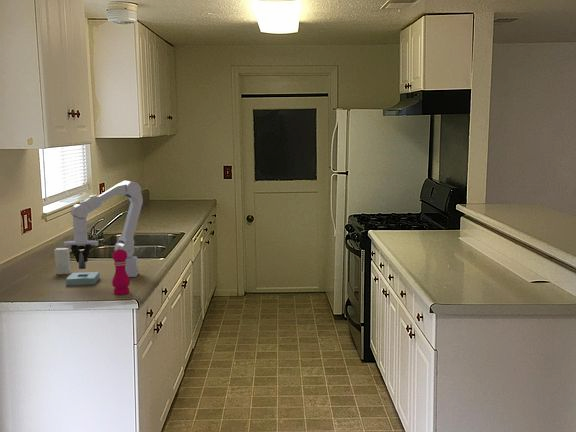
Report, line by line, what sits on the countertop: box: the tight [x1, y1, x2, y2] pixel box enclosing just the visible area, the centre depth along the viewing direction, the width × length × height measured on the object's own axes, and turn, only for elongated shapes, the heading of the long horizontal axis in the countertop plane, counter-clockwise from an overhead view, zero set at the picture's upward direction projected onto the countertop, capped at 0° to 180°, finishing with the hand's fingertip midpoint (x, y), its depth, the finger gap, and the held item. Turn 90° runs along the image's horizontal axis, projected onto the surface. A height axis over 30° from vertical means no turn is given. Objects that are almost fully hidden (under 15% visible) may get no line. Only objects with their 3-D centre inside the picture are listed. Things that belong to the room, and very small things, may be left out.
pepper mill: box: [111, 246, 131, 296], centre depth 261 cm, size 7×7×20 cm
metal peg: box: [77, 249, 87, 270], centre depth 279 cm, size 3×3×8 cm
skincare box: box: [53, 247, 72, 275], centre depth 296 cm, size 6×4×12 cm
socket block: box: [65, 271, 100, 287], centre depth 281 cm, size 12×12×3 cm
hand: (82, 261), depth 279 cm, fingers closed on metal peg, 3 cm apart
